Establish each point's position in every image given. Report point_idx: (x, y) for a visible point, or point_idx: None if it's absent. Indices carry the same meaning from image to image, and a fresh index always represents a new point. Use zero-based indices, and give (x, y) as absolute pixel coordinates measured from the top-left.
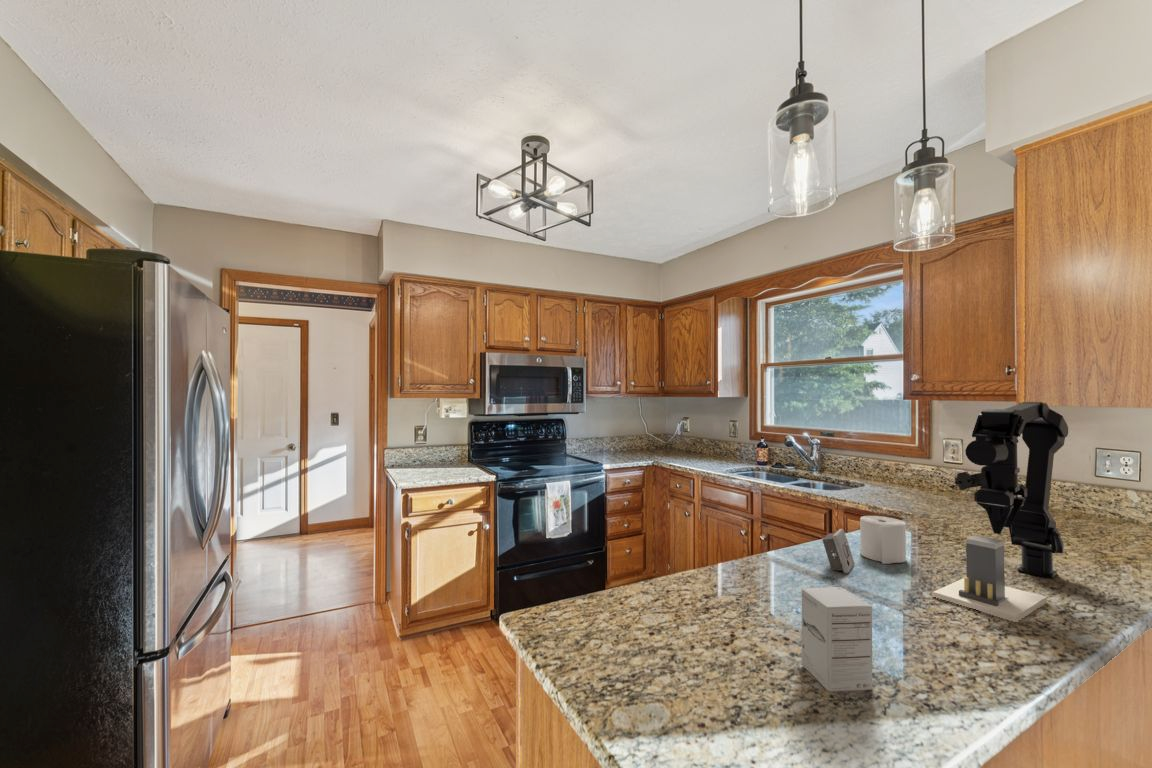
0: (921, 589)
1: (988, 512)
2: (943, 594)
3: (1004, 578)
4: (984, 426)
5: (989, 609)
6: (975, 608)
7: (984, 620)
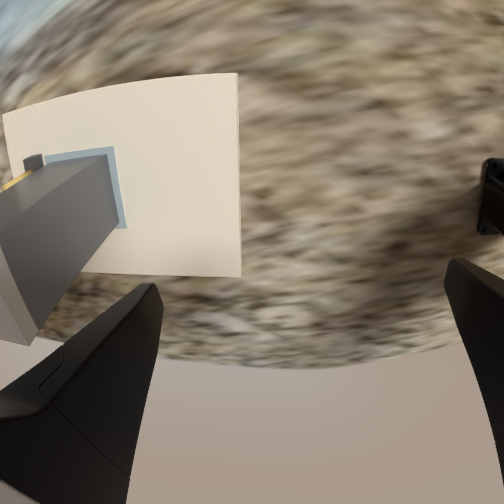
0: (34, 60)
1: (17, 391)
2: (8, 135)
3: (95, 251)
4: None
5: None
6: None
7: None
